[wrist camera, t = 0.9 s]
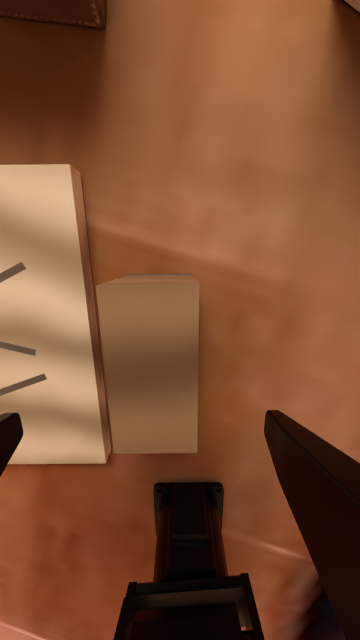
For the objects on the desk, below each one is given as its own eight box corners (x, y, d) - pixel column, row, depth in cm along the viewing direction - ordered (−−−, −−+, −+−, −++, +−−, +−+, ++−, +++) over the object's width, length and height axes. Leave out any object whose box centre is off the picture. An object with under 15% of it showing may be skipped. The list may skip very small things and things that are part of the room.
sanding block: (191, 383, 19) (197, 452, 12) (137, 384, 19) (113, 453, 12) (191, 273, 17) (199, 284, 10) (130, 274, 17) (95, 285, 10)
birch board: (111, 448, 21) (105, 463, 19) (-43, 450, 21) (-61, 464, 19) (80, 173, 15) (69, 164, 13) (-135, 175, 15) (-169, 166, 13)
